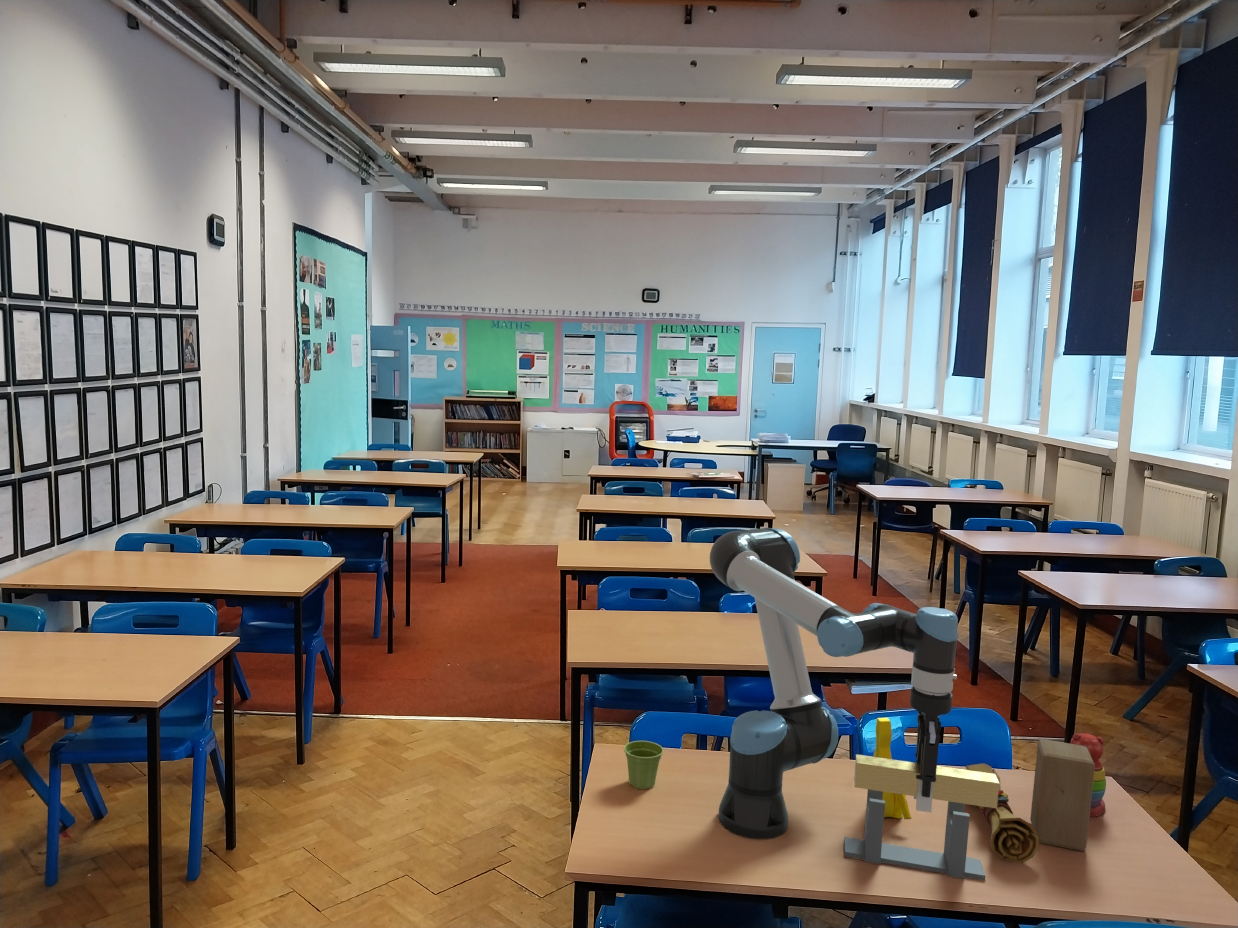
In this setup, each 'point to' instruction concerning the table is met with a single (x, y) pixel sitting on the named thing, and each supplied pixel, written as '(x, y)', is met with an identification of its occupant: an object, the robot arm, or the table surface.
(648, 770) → the plant pot
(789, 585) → the robot arm
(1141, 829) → the table surface
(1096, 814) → the stacking bear
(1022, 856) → the scroll
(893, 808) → the figure statuette
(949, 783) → the rail
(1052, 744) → the wooden block
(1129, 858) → the table surface
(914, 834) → the table surface
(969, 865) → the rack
